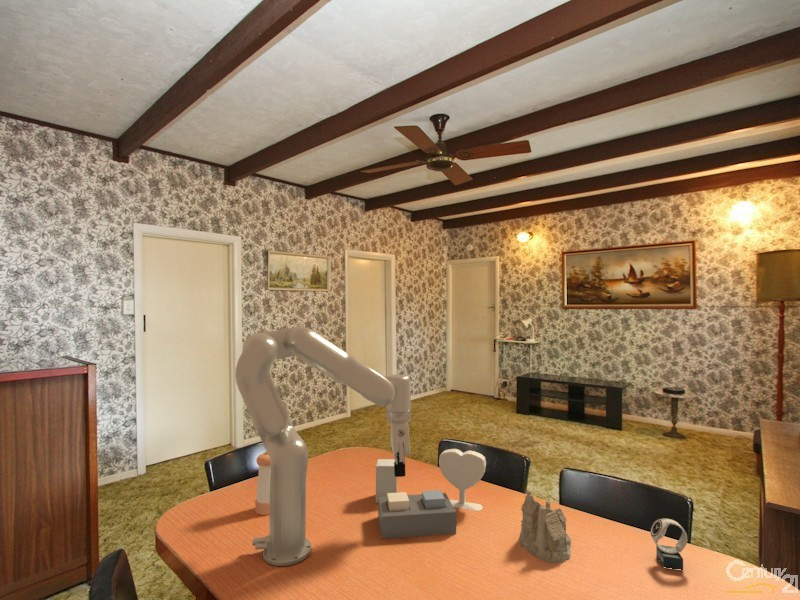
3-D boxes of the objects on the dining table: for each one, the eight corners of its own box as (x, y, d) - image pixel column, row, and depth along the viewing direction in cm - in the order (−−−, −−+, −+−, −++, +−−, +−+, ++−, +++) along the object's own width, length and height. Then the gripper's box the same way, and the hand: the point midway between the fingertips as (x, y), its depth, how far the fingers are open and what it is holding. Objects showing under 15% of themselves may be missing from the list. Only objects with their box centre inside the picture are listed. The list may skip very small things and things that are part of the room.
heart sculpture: (438, 504, 141) (438, 451, 141) (441, 498, 145) (441, 446, 146) (484, 512, 135) (484, 456, 136) (486, 505, 140) (486, 451, 141)
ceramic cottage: (542, 566, 106) (544, 505, 108) (509, 535, 122) (510, 483, 124) (593, 560, 111) (594, 502, 112) (554, 531, 126) (555, 480, 128)
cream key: (389, 518, 123) (389, 501, 123) (387, 509, 129) (387, 493, 129) (409, 517, 124) (409, 500, 124) (406, 508, 130) (406, 492, 130)
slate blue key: (425, 516, 125) (425, 499, 125) (421, 507, 131) (421, 491, 131) (445, 515, 125) (445, 498, 126) (440, 506, 131) (440, 490, 132)
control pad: (381, 538, 119) (381, 516, 119) (378, 516, 132) (378, 496, 132) (456, 533, 122) (456, 511, 122) (445, 512, 135) (445, 492, 135)
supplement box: (396, 503, 141) (396, 466, 142) (375, 503, 141) (375, 466, 142) (397, 494, 149) (397, 458, 149) (376, 494, 149) (376, 458, 149)
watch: (648, 555, 111) (647, 513, 112) (682, 559, 109) (681, 517, 110) (655, 567, 106) (654, 523, 106) (691, 572, 104) (690, 528, 104)
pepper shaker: (281, 505, 140) (282, 447, 140) (273, 515, 133) (273, 455, 133) (261, 504, 141) (261, 447, 141) (251, 514, 133) (252, 454, 134)
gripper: (414, 421, 121) (416, 484, 120) (407, 409, 135) (408, 465, 135) (389, 422, 120) (390, 486, 119) (384, 410, 134) (385, 467, 134)
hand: (399, 475), depth 127 cm, fingers closed
